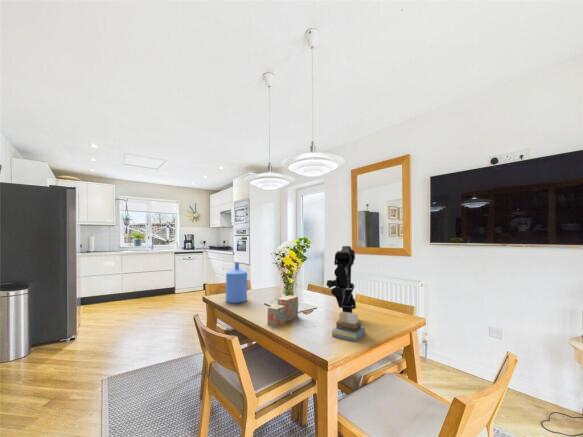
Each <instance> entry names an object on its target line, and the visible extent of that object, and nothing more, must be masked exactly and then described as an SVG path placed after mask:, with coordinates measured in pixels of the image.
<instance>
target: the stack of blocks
mask: <svg viewBox="0 0 583 437" xmlns="http://www.w3.org/2000/svg"><path fill="white" fill-rule="evenodd" d="M298 317H299V297H298V296H297V295H286V296H283V297H280V298H277V303H276V304H274V305H271V306H269V307H267V325H269V326H273V327H278V326H280V325H283V324H284V323H285V324H286V323H287V322H290V321H291V320H294V319H296V318H298Z"/></svg>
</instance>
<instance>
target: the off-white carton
mask: <svg viewBox="0 0 583 437" xmlns="http://www.w3.org/2000/svg"><path fill="white" fill-rule="evenodd" d="M358 318H359V314H358V313H355V312H352V313H349V314H347V323H349V324H356V323H358V321H359V319H358Z"/></svg>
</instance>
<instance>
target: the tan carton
mask: <svg viewBox="0 0 583 437" xmlns="http://www.w3.org/2000/svg"><path fill="white" fill-rule="evenodd" d="M347 314H349V312H342V311H341V312H339V318H338V319H339V320H338V321H339V322H344V323H347Z"/></svg>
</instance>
